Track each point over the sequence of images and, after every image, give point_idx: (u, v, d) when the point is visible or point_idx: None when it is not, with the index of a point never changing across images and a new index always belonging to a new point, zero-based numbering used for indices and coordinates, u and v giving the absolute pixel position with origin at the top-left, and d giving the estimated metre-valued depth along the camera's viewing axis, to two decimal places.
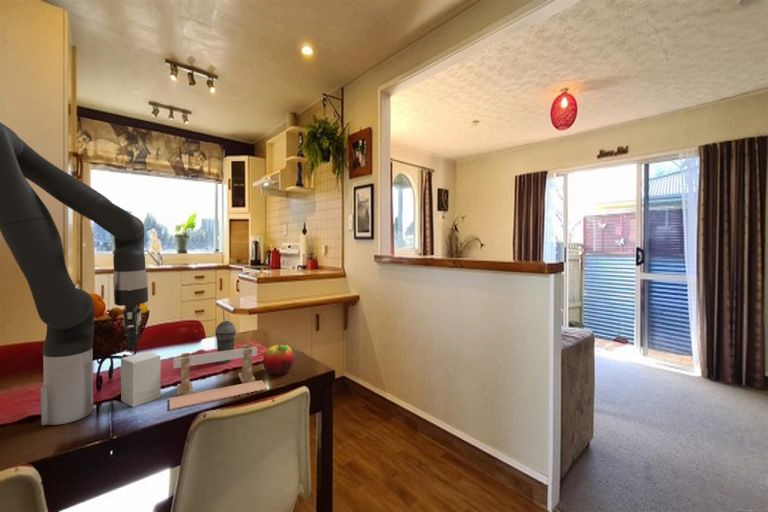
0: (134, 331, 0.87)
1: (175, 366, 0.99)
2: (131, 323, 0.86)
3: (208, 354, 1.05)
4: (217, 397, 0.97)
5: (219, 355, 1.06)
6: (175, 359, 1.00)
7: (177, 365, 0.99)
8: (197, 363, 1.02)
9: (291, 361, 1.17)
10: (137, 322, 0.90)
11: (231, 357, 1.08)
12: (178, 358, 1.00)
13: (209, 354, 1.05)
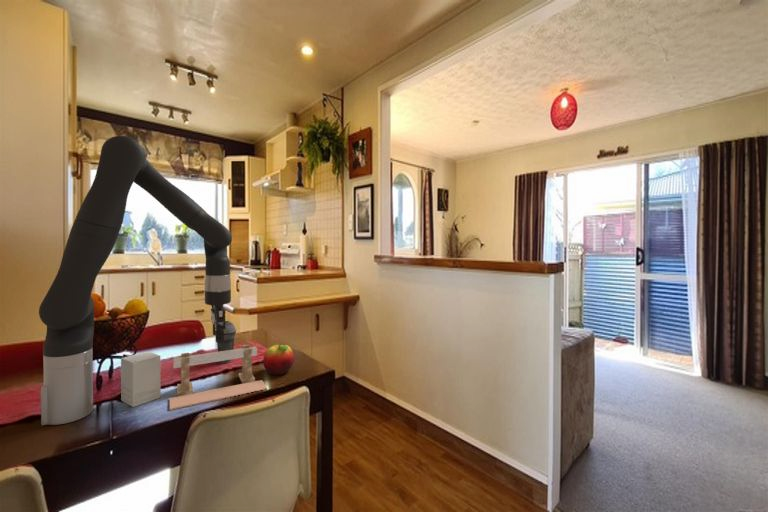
0: (224, 327, 1.00)
1: (175, 366, 0.99)
2: (222, 320, 1.00)
3: (208, 354, 1.05)
4: (217, 397, 0.97)
5: (219, 355, 1.06)
6: (175, 359, 1.00)
7: (177, 365, 0.99)
8: (197, 363, 1.02)
9: (291, 361, 1.17)
10: None
11: (231, 357, 1.08)
12: (178, 358, 1.00)
13: (209, 354, 1.05)
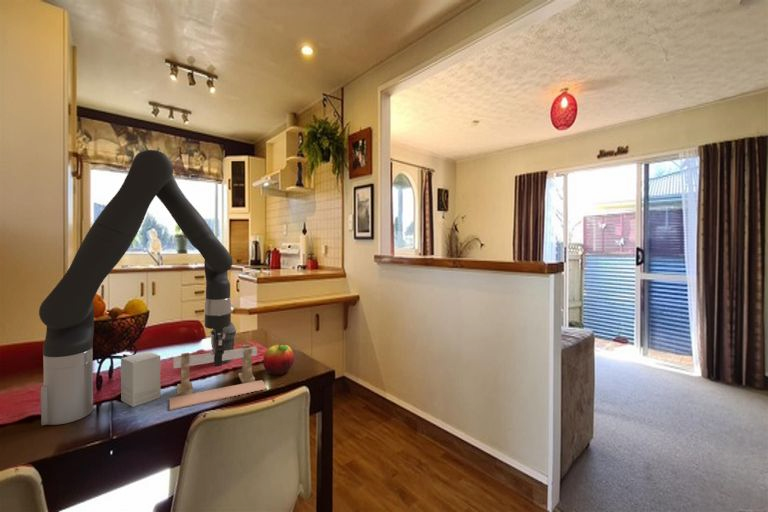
0: (222, 352, 1.03)
1: (175, 366, 0.99)
2: (221, 348, 1.02)
3: (208, 354, 1.05)
4: (217, 397, 0.97)
5: None
6: (175, 359, 1.00)
7: (177, 365, 0.99)
8: (197, 363, 1.02)
9: (291, 361, 1.17)
10: None
11: (231, 357, 1.08)
12: (178, 358, 1.00)
13: (209, 354, 1.05)
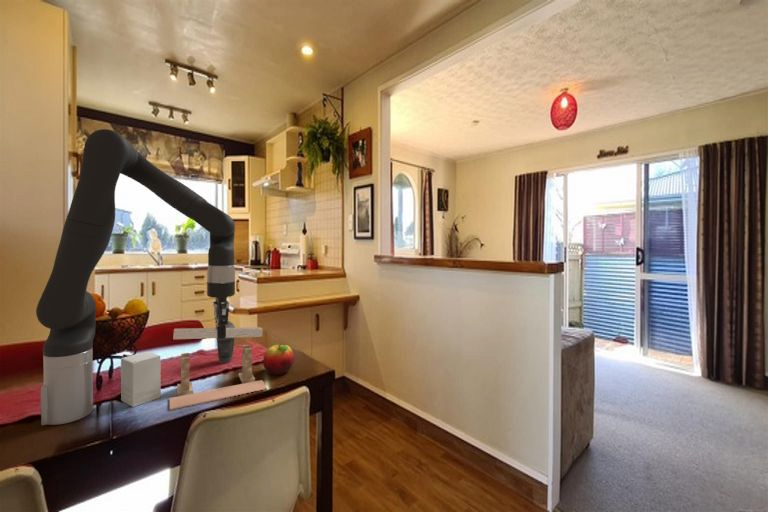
0: (226, 323, 0.96)
1: (175, 337, 0.92)
2: (224, 318, 0.95)
3: (211, 329, 0.98)
4: (217, 397, 0.97)
5: None
6: (176, 330, 0.92)
7: (177, 336, 0.92)
8: (198, 337, 0.95)
9: (291, 361, 1.17)
10: None
11: (235, 335, 1.00)
12: (179, 329, 0.93)
13: (212, 329, 0.98)
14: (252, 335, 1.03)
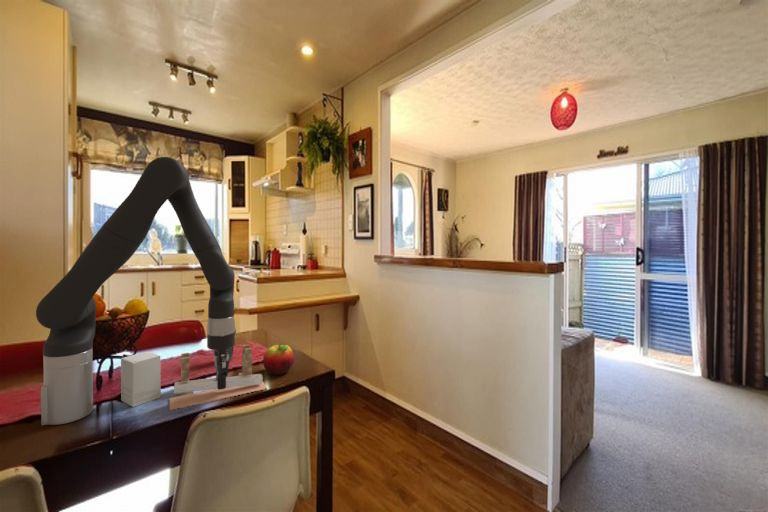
0: (226, 375, 0.97)
1: (176, 391, 0.93)
2: (224, 370, 0.95)
3: (211, 380, 0.98)
4: (217, 397, 0.97)
5: None
6: (176, 383, 0.93)
7: (178, 390, 0.93)
8: (199, 389, 0.96)
9: (291, 361, 1.17)
10: None
11: (235, 384, 1.01)
12: (180, 382, 0.94)
13: (212, 380, 0.98)
14: (252, 383, 1.04)
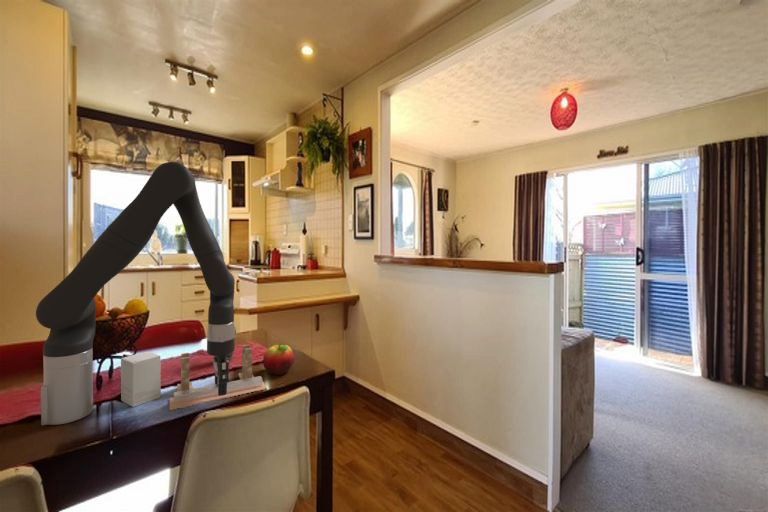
0: (227, 380, 0.94)
1: (175, 402, 0.93)
2: (225, 373, 0.94)
3: (210, 387, 0.98)
4: (217, 397, 0.97)
5: None
6: (175, 394, 0.93)
7: (177, 401, 0.93)
8: (199, 397, 0.96)
9: (291, 361, 1.17)
10: None
11: (235, 389, 1.01)
12: (178, 393, 0.94)
13: (211, 387, 0.98)
14: (252, 386, 1.04)
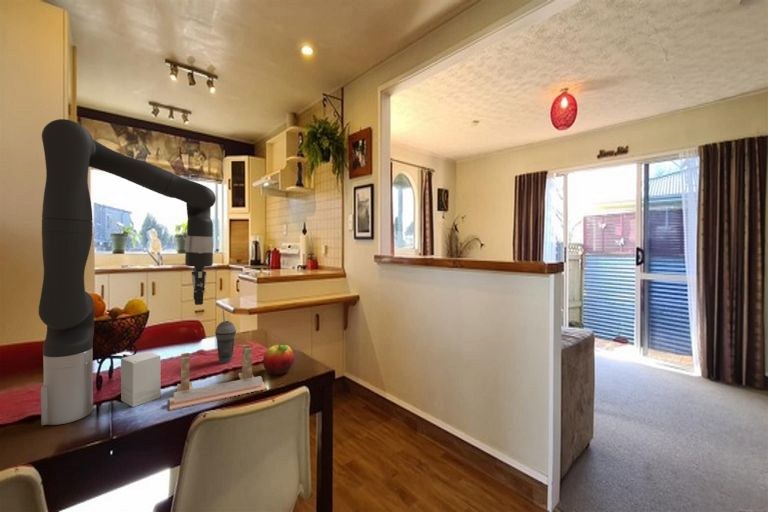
0: (203, 289, 0.98)
1: (175, 402, 0.93)
2: (201, 281, 0.97)
3: (210, 387, 0.98)
4: (217, 397, 0.97)
5: (222, 388, 0.99)
6: (175, 394, 0.93)
7: (177, 401, 0.93)
8: (199, 397, 0.96)
9: (291, 361, 1.17)
10: None
11: (235, 389, 1.01)
12: (178, 393, 0.94)
13: (211, 387, 0.98)
14: (252, 386, 1.04)
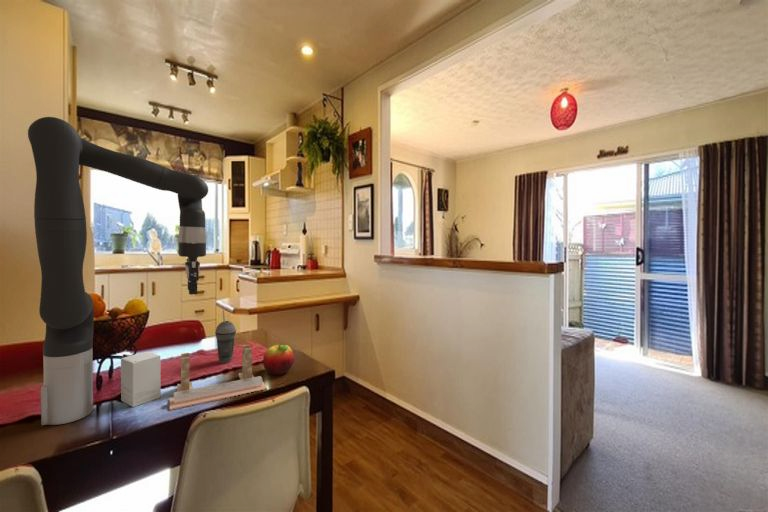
0: (197, 278, 0.99)
1: (175, 402, 0.93)
2: (195, 271, 0.99)
3: (210, 387, 0.98)
4: (217, 397, 0.97)
5: (222, 388, 0.99)
6: (175, 394, 0.93)
7: (177, 401, 0.93)
8: (199, 397, 0.96)
9: (291, 361, 1.17)
10: (198, 272, 1.02)
11: (235, 389, 1.01)
12: (178, 393, 0.94)
13: (211, 387, 0.98)
14: (252, 386, 1.04)
